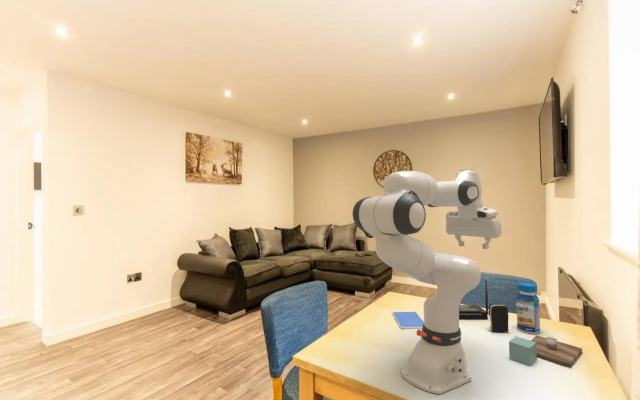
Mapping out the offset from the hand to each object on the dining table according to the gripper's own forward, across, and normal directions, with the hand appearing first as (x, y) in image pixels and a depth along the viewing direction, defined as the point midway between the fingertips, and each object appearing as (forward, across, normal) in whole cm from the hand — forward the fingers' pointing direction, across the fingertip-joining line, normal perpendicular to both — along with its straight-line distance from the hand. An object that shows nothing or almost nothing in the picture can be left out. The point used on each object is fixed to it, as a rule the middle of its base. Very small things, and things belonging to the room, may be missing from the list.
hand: (473, 247), depth 115 cm
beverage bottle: (+42, +6, +27) cm, 50 cm away
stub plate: (+40, +19, +13) cm, 46 cm away
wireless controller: (+42, -18, +24) cm, 51 cm away
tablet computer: (+39, -32, -4) cm, 51 cm away
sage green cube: (+38, +15, 0) cm, 41 cm away
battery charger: (+41, -1, +17) cm, 44 cm away
